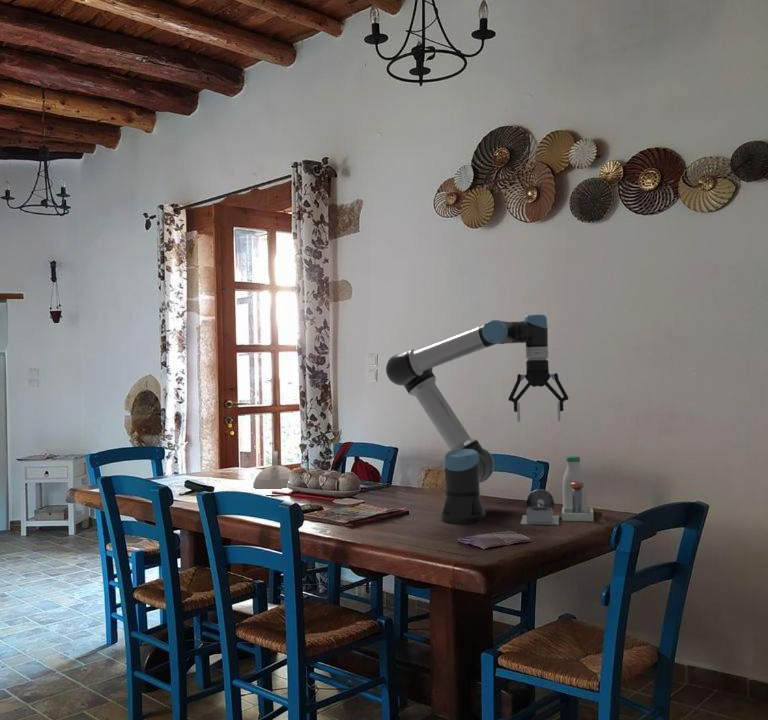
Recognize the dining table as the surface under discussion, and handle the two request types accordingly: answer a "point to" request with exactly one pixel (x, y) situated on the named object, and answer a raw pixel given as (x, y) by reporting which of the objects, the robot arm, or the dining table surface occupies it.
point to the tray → (577, 515)
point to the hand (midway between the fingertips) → (538, 421)
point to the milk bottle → (572, 475)
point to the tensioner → (540, 509)
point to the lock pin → (577, 496)
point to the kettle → (273, 475)
